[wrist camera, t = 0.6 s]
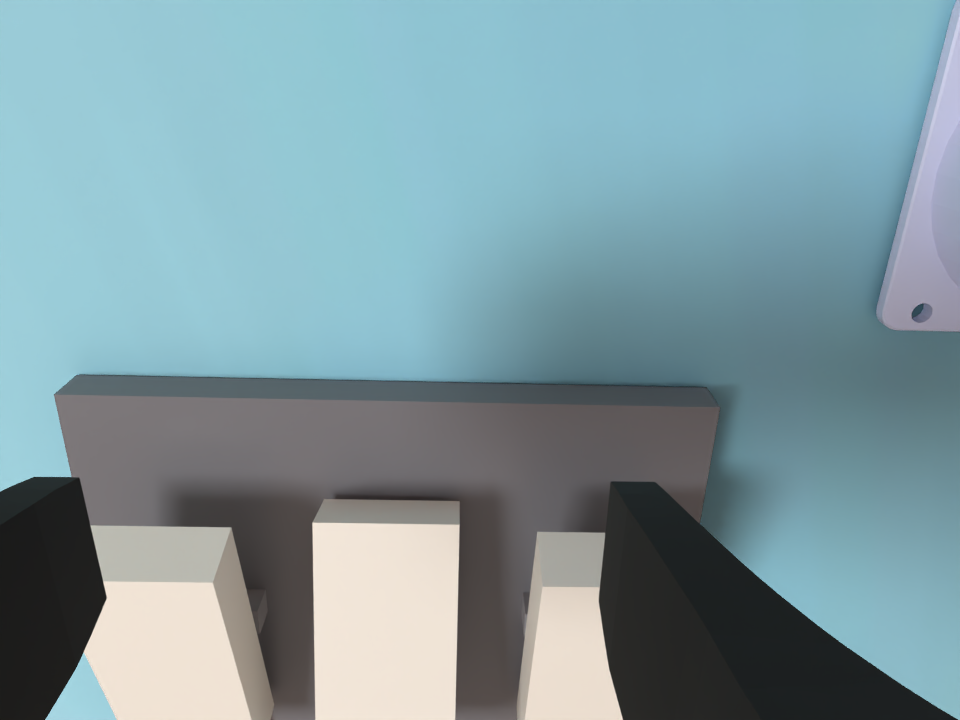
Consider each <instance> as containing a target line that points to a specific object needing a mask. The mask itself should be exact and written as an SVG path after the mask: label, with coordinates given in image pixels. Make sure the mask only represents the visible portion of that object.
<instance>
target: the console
mask: <svg viewBox="0 0 960 720" xmlns="http://www.w3.org/2000/svg"><path fill="white" fill-rule="evenodd" d="M54 397H55V402H56V406H57V411H58V415H59V420H60V425H61V429H62V434H63V438H64V443H65V448H66V452H67V457H68V462H69V466H70V471H71V475H72V477H80V482H81V486H82V491H83V495H84V499H85V504H86V508H87V513H88V517H89V521H90V525H95V526H166V527H231V528H232V532H233V537H234V541H235V545H236V549H237V553H238V557H239V561H240V565H241V570H242V574H243V578H244V582H245V586H246V590H247V594H248V598H249V603H250V607H251V611H252V615H253V619H254V623H255V627H256V631H257V636H258V640H259V644H260V648H261V652H262V656H263V660H264V664H265V669H266V673H267V677H268V681H269V685H270V689H271V693H272V697H273V702H274V707H273V712H272V716H271V720H315V661H314V593H313V525H312V523H313V521H314V519H315V517H316V515H317V513H318V511H319V509H320V507H321V505H322V503H323V501H324V499H358V500H423V501H460V527H459V571H458V616H457V661H456V706H455V720H517V698H518V689H519V681H520V673H521V664H522V656H523V648H524V639H525V631H526V623H527V614H528V606H529V597H530V589H531V581H532V572H533V564H534V556H535V547H536V539H537V532H589V533H605V532H606V522H607V512H608V502H609V493H610V483H611V481H626V482H656V483H657V484H658V485H659V486H660V487H662V488H663V489H664V490H665V491H666V492H667V493H668V494H669V495H670V496H671V497H672V498H673V499H674V500H675V501H676V502H677V503H678V504H679V505H680V506H682V507H683V508H684V509H685V510H686V511H687V512H688V513H689V514H690V515H691V516H692V517H693V518H694V519H695V520H696V521H697V522H698V523H699V524H700V519H701V513H702V508H703V502H704V496H705V491H706V485H707V480H708V474H709V468H710V463H711V457H712V451H713V446H714V440H715V434H716V429H717V423H718V417H719V412H720V406H719V405H718V403H717V402H716V401H715V399H714V398H713V396H712V395H711V393H710V392H709V391H708V389H707V388H700V387H651V386H601V385H551V384H501V383H452V382H402V381H352V380H303V379H253V378H203V377H153V376H104V375H76V376H75V377H74V378H73V379H72V380H70V381H69V382H68V383H67V384H66V385H65V386H63V387H62V388H61V389H60V390H59V391H58V392H56V393H55V394H54Z"/></svg>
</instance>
